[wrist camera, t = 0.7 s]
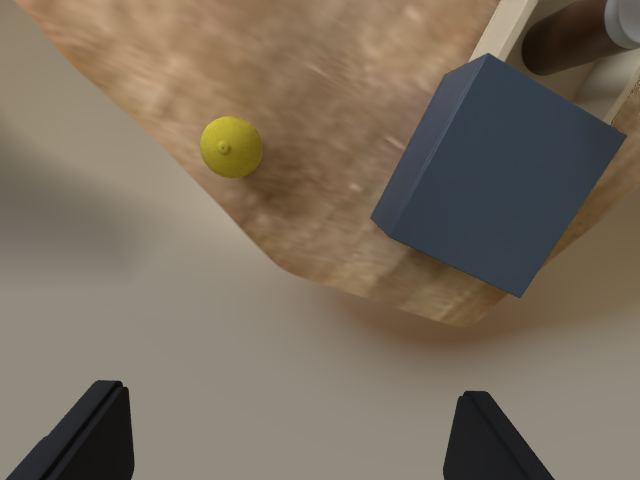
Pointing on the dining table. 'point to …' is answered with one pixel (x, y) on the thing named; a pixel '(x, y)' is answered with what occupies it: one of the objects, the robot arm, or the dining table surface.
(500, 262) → the cabinet
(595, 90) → the drawer
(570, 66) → the brown lidded jar
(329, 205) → the dining table surface
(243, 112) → the dining table surface
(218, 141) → the lemon
